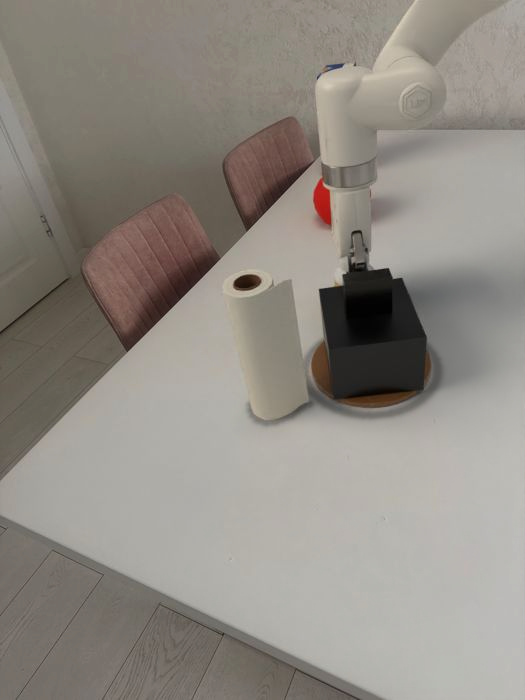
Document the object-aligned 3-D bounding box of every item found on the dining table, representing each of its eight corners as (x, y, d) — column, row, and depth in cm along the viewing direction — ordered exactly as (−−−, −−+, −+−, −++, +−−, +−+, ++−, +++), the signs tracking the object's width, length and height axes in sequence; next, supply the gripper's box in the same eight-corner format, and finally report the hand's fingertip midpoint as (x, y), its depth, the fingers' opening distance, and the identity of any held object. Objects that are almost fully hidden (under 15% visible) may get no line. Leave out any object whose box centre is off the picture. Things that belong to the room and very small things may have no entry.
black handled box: (307, 336, 80) (296, 252, 70) (415, 323, 78) (418, 235, 69) (316, 414, 67) (304, 324, 57) (445, 400, 65) (455, 304, 56)
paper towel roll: (243, 414, 71) (210, 287, 57) (270, 388, 74) (244, 263, 60) (283, 435, 67) (257, 304, 53) (309, 406, 70) (291, 276, 56)
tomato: (326, 206, 119) (322, 162, 112) (377, 208, 113) (376, 162, 107) (306, 233, 110) (300, 186, 103) (360, 236, 105) (358, 188, 98)
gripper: (317, 153, 76) (326, 257, 87) (328, 200, 62) (337, 315, 74) (366, 145, 75) (369, 251, 86) (389, 190, 61) (389, 308, 73)
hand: (354, 279), depth 80 cm, fingers closed on pill bottle, 6 cm apart
